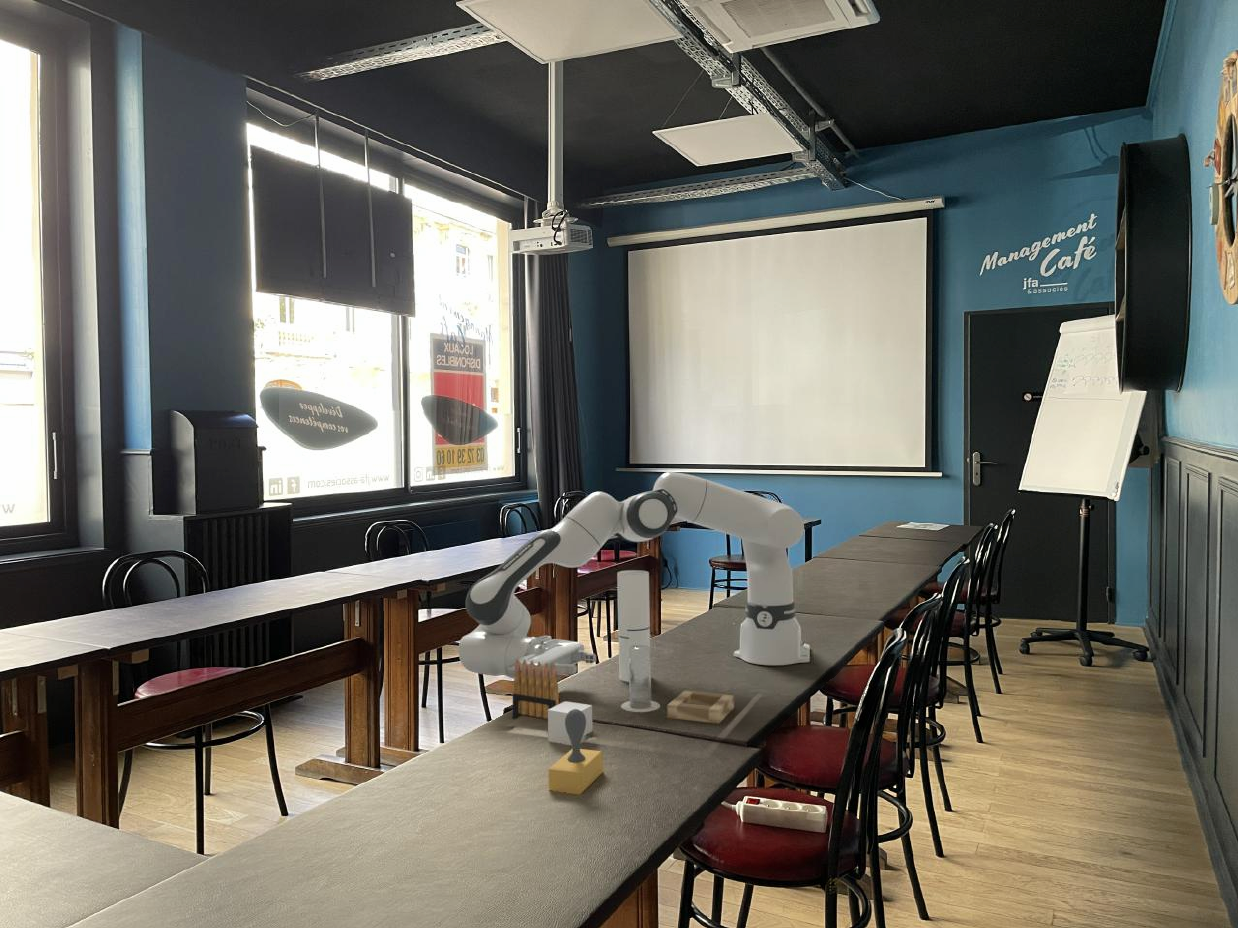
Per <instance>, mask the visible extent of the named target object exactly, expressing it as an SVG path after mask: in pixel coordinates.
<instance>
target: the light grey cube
mask: <svg viewBox="0 0 1238 928" xmlns="http://www.w3.org/2000/svg"><path fill="white" fill-rule="evenodd" d="M573 709H578V710H580V711H582V712H583V713H584V715H585V717H586V727H585V731H584V734H583V737H582V740H581V743H580V745H581V744H583V743H584V742H585V741H587V740H589V739H591V738H592V737H593V735H588V734H590V733H592V732H594V731H593V705H592V704H586V703H579V702H574V701H573V702H572V701H565V700H564V701H563V702H560V704H558V705H557V706H555V707H553V708H551V709H549V710H548V720H547V730H548V731H547V732H548V733H547V734H548V735H547V736H548V738H547V739H548V742H550V743H555V742H556V743H555V744H560V743H561V745H566V746H572V744H571V741H570V738H569V736H568V733H567V731H566V727H565V718H566V716H567V714H568V712H569V711H571V710H573Z"/></svg>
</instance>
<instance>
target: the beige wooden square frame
mask: <svg viewBox="0 0 1238 928" xmlns="http://www.w3.org/2000/svg"><path fill="white" fill-rule="evenodd" d="M666 706H667V707H666V708H667V709H666V710H667V718H668V719H675V720H685V721H691V722H692V721H693V722H701V723H702V722H703V723H710V724H711V723H712V724H721V722H722V721H723V720H724V719H725V718H726V717H727V716H728V715H729V714H730V713H731V712H732V711H733V710H734V708H735V695H734V694H727V693H726V694H723V693H716V692H715V693H714V692H706V691H705V692H704V691H694V690H692V691H691V690H684V691H682V692H681V693H680V694H679V695H677V696H676V697H674V699H673V700H671V701H670V702H669V703H668V704H666Z"/></svg>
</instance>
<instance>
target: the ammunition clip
mask: <svg viewBox="0 0 1238 928" xmlns="http://www.w3.org/2000/svg"><path fill="white" fill-rule="evenodd" d="M560 703H561V698H560V696H559V684H558V675H557V671H556V667H555V664H553V665H552V669H551V678H550V673H549V667H548V664H547V663H545V667H544V677H543V676H542V667H541V664H540V662H538V664H537V670H536V677H535V667H534V663H533V661H531V663H530V668H529V678H528V668H527V663H526V661H525V660H524V661H523V665H522V678H521V669H520V663H519V660H518V659H517V660H516V663H515V676H514V678H513V693H512V719H513V720H516V719H518V718H520V717H522V716H525V717H530V718H535V719H542V720H545V721H546V720H547V721H548V710H549V709H551V708H553V707H555V706H557V705H558V704H560Z"/></svg>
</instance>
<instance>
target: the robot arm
mask: <svg viewBox="0 0 1238 928" xmlns="http://www.w3.org/2000/svg"><path fill="white" fill-rule="evenodd" d="M675 518H676V519H680V520H683V521H685V522H689V523H691V524H695V525H699V526H701V527H704V528H708V529H711V530H713V531H716V532H720V533H723V534H725V535H729V536H732V537H734V538H735V537H736V538H739V539H741V542H742V543H741V545H742V550H743V555H744V559H745V565H746V576H747V577H746V580H747V581H746V582H747V601H746V602H745V616H746V618H745V620H744V621H743V622H742V623H741V624H740V630H739V649H737V650H735V651H734V652H733V657H735V658H739V659H741V660H743V661H745V662H747V663H750V664H755V665H759V666H760V665H762V666H788V665H793V664H799V663H802V664H803V663H809V662H810V660H811V656H810V654H811V647H810V646H811V645H809V644H807V643H805V641H804V640H802V632H801V631H802V630H801V629H802V628H801V626H800V624H799V621H798V620H797V618H796V615H797V614H796V613H797V612H796V611H797V610H796V609H797V608H796V601H795V599H794V588H793V587H794V583H793V581H794V578H793V577H794V575H793V573H794V572H793V568H792V566H791V564H790V561H789V558H788V554H787V549H789V548H792V547H794V546H796V545H797V544H798V543H799V542H800V541H801V539H802V538H803V535H804V533H805V525H804V524H805V523H804V519H803V518H802V516H801V515H800V513H798V512H797V510H795V509H794V508H793V507H791V506H790V505H788V504H785V503H782V502H779V501H775V500H772V499H769V498H766V497H763V496H761V495H760V496H759V495H757V494H752V493H749V492H746V491H743V490H739V489H737V488H734V487H730V486H727V485H724V484H721V483H719V482H718V483H717V482H716V481H712V480H709V479H706V478H703V477H700V476H696V475H692V474H689V473H682V472H675V471H666V472H664V473H662V474H661V475H660V476H658V478H657V479H656V480H655V482H654V485H653V487H652V490H649V491H644V492H641V493H638V494H636V495H632V496H629V497H628V498H627V499H624V500H622V501H619V500H617V499H615V498H614V497H613V496H612V495H610V494H608V493H606V492H604V491H595V492H594V491H593V492H592V493H590V494H588V495H587V496H585V498H583V499H582V500H581V501H580V502H578V503H577V504H576V505H575V506H574V507H573V508H572V509H571V510H570V511H568V513H567V514H566V515H565V516H564V518H562V519H561V520H560V521H559V522H558V523H557V524H556V525H555V526H553V527H552V528H550V529H545V530H542V531H540V532H538V533H537V534H535V535H534V536H533V537H532V538H530V539H529V540H528V541H527V542H525V543H524V544H523V545H521V547H519V549H517V550H516V551H515V552H514V553H513V554H512V555H511V556H509V557H508V558H507V559H506V560H505V561H504V562H503V563H501V564H500V565H499V566H498V567H497V568H495V569H494V570H493V571H491V572H489V573H488V574H486V575H484V576H483V577H482V578H480V579H478V580H477V581H476V582H475V583H473V584H472V586H471V587H470V588H469V590H468V591H467V595H466V598H465V609H466V613H467V614H468V615H469V617H470V618H472V620H475V622H477V623H478V624H479V625H478V626H477V627H476V628H475V629H474V630H472V631H471V632H470V633H468V634H466V635H464V636H462V638H461V639H460V641H459V644H458V657H459V661H460V663H461V664H462V666H463V667H464V668H465V669H466V670H467V671H469V672H472V673H474V674H480V675H484V676H492V677H499V676H505V677H507V678H510V679H514V676H515V663H516V660H517V659H518V660H519V663H520V669H521V678H522V665H523V661H524V660H525V661H526V663H527V668H528V678H529V668H530V663H531V661H533V663H534V667H535V677H536V670H537V664H538V662H540V664H541V667H542V676H543V677H544V667H545V663H547V664H548V667H549V673H550V679H551V669H552V665H553V664H555V667H556V671H557V676H562V675H570V676H571V675H574V674H576V673H577V672H578V669H577V668H578V667H577V665H576V664H578V663H580V662H585V663H586V664H593V663H595V662H597V655H596V654H595V653H589V652H587V651H585V645H584V644H583V643H581V642H578V641H573V640H567V639H557V638H555V639H554V638H553V639H552V636H550V635H541V636H537V637H535V636H533V637H531V636H528V634H529V632H530V629H531V625H532V617H531V614H530V611H529V610H528V609H527V607H526V606H525V605H524V604H523V602H521V600H520V599H518V597H517V596H516V595H515V594H514V593H515V591H516V589H517V588H518V587H519V585H521V584H522V583H523V582H525V581H526V580H527V579H528V578H529V577H530V576H531V575H532V574H534V572H535V571H537V570H538V569H539V568H540V567H542V566H544V565H546V564H555V565H559V566H562V567H565V568H579V567H582V566H584V565H585V564H587V563H588V562H590V561H591V559H592V558H594V556H595V555H596V554H597V553H598V552H599V550H600V549H602V547H603V546H604V545H605V543H606V542H607V541H608V540H609V539H610V538H612V536H615V537H618V538H620V539H621V540H623V541H626V542H629V543H640V542H641V543H642V542H648V541H650V540H653V539H655V538H657V537H660V536H662V535H663V534H664V533H665V532H666V531H667V529H668V528H669V527H670V525H671V524H672V521H673V520H674V519H675Z"/></svg>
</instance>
